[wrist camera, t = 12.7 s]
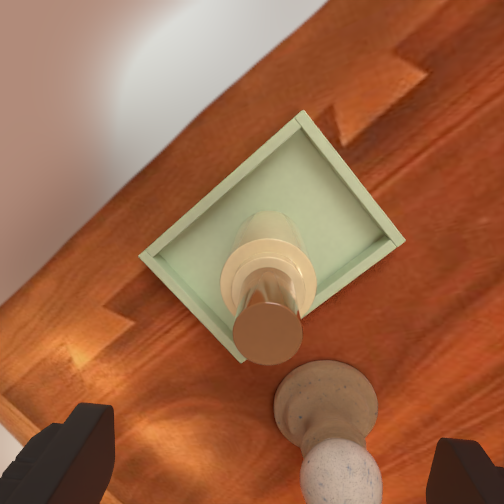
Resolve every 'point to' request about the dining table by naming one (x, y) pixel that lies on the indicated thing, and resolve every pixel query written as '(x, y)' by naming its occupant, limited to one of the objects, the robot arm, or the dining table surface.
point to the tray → (284, 201)
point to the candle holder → (331, 431)
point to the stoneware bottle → (268, 287)
